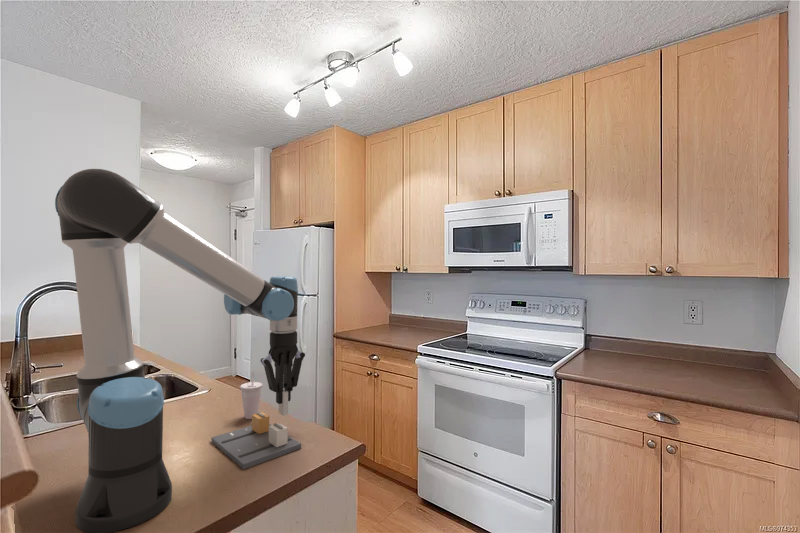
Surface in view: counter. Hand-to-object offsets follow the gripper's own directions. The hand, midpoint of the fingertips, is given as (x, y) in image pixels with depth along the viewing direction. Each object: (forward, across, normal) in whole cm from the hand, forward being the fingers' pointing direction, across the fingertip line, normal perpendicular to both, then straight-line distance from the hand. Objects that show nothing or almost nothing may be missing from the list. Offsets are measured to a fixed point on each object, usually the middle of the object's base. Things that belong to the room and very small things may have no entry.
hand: (283, 413), depth 113 cm
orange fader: (+3, -7, 0) cm, 7 cm away
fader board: (+4, -10, -4) cm, 12 cm away
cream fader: (+3, -7, -10) cm, 13 cm away
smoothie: (+4, -3, +14) cm, 15 cm away
